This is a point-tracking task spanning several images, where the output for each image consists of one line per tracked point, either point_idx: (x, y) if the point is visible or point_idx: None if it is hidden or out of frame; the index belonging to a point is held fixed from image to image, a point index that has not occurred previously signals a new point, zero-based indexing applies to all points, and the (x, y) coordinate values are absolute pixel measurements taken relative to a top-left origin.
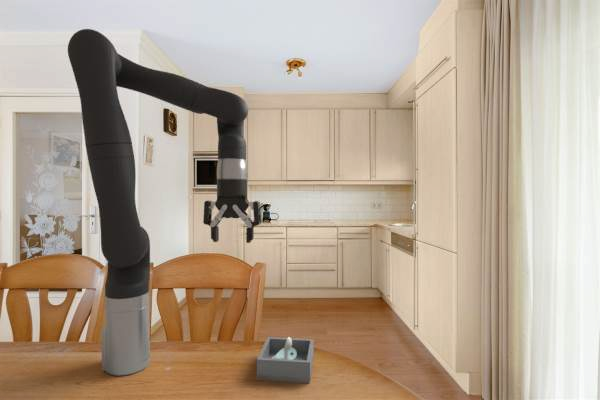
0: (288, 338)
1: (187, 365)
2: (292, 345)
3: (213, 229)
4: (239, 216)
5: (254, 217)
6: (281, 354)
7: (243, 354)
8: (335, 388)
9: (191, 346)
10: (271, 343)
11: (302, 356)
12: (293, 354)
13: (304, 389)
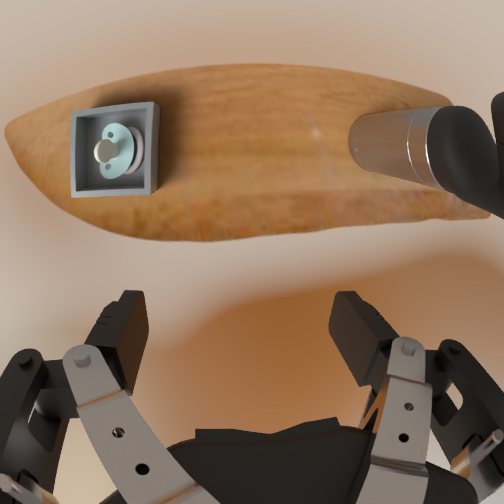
0: (96, 148)
1: (288, 141)
2: (107, 188)
3: (385, 329)
4: (150, 430)
5: (19, 400)
6: (124, 162)
7: (201, 186)
8: (58, 111)
9: (304, 210)
10: (143, 187)
11: (97, 179)
12: (105, 165)
13: (93, 98)
